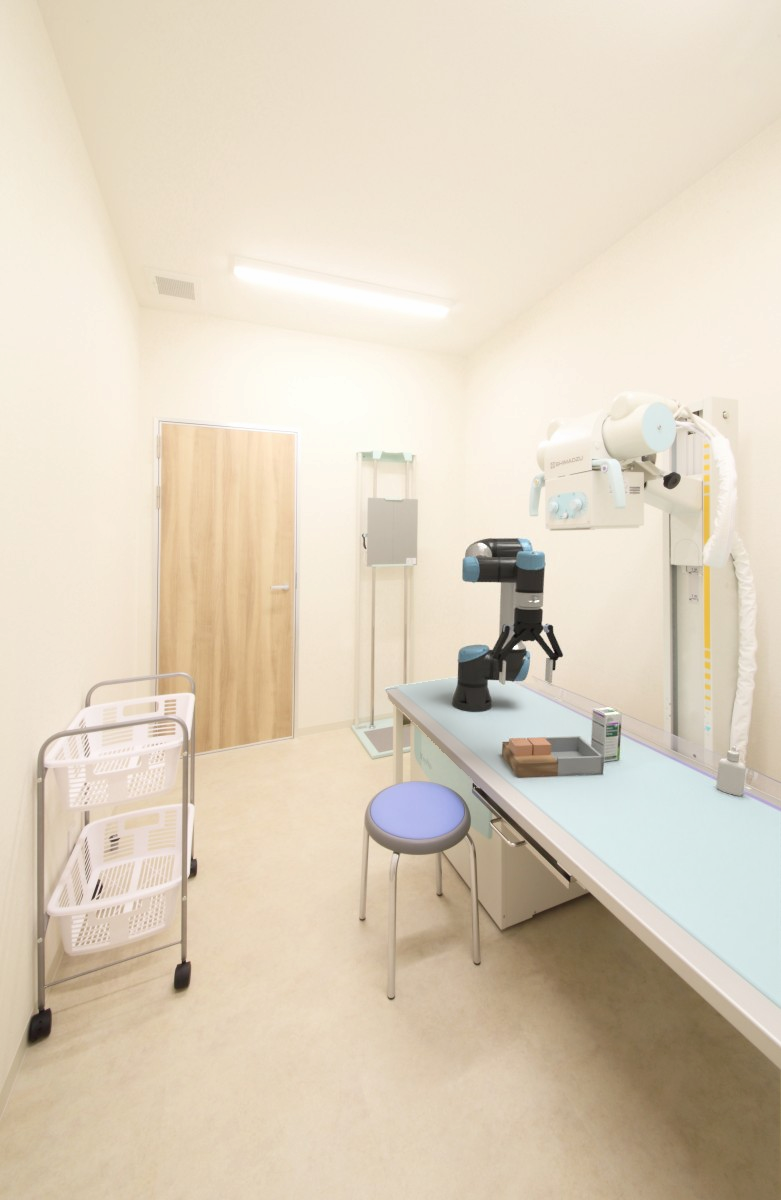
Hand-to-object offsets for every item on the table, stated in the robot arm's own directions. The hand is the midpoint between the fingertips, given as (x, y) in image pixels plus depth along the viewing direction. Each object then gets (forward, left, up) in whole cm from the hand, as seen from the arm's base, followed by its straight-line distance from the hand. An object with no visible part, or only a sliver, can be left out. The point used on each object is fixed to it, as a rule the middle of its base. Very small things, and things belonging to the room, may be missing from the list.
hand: (525, 682), depth 133 cm
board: (0, +2, -24) cm, 24 cm away
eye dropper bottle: (+18, +48, -25) cm, 57 cm away
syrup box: (-3, +26, -25) cm, 36 cm away
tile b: (0, +5, -20) cm, 21 cm away
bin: (0, +14, -24) cm, 28 cm away
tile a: (0, -1, -20) cm, 20 cm away
